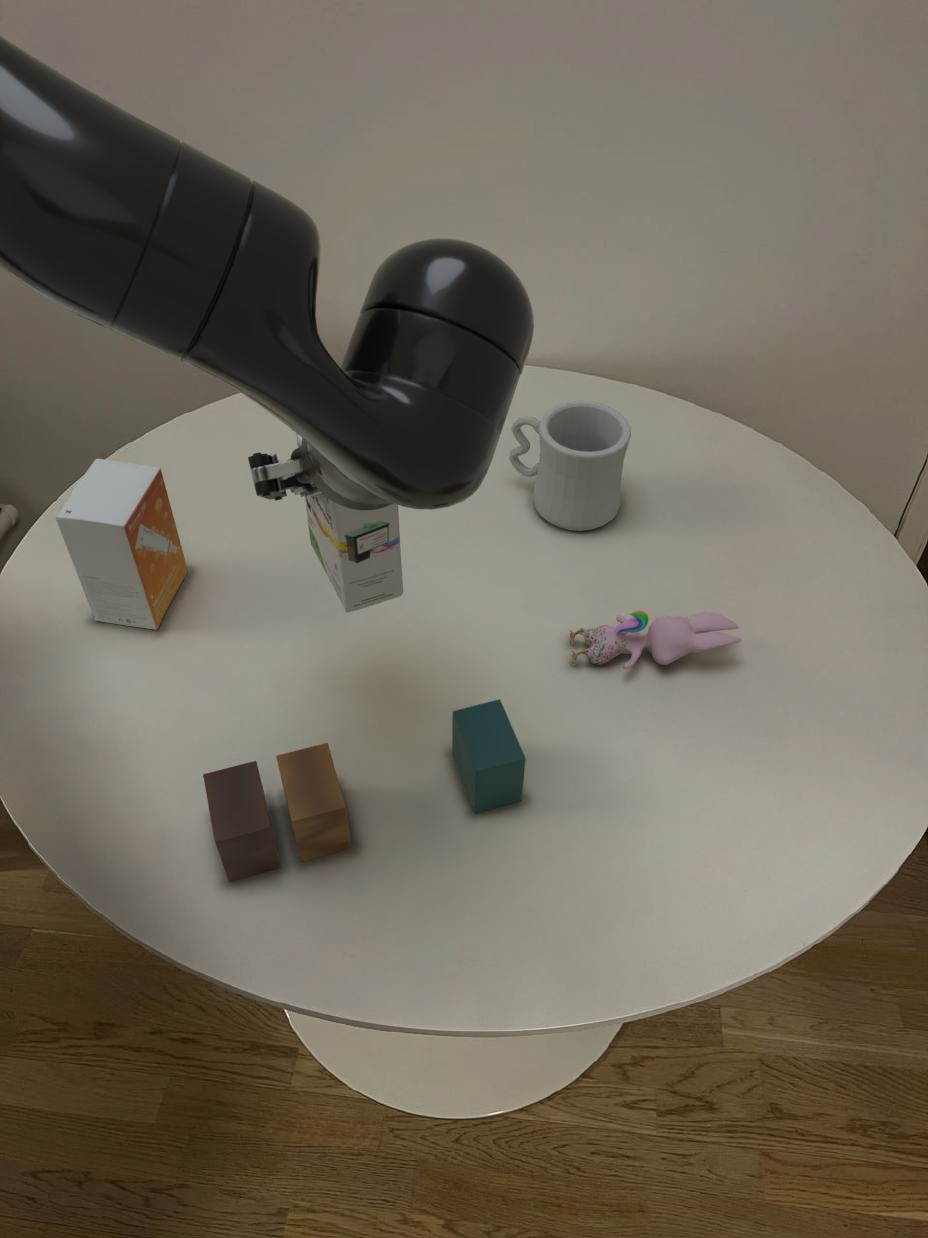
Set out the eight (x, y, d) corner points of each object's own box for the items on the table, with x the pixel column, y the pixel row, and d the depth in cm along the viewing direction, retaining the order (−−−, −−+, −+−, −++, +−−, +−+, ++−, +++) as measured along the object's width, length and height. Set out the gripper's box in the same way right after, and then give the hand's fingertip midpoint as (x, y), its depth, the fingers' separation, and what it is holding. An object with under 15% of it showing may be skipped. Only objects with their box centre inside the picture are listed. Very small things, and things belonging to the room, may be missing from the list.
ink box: (308, 543, 80) (291, 423, 72) (366, 526, 82) (356, 406, 73) (344, 615, 75) (330, 495, 66) (406, 596, 76) (400, 475, 68)
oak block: (300, 862, 77) (291, 821, 72) (285, 798, 81) (275, 755, 76) (351, 848, 78) (345, 807, 73) (334, 785, 81) (327, 742, 77)
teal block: (474, 814, 80) (476, 772, 75) (451, 754, 84) (452, 710, 79) (521, 801, 81) (526, 758, 76) (497, 742, 84) (500, 698, 80)
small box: (158, 632, 92) (124, 527, 83) (93, 622, 93) (51, 517, 83) (190, 570, 98) (161, 465, 88) (129, 561, 98) (93, 456, 89)
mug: (632, 492, 106) (646, 415, 98) (599, 545, 100) (611, 467, 93) (526, 457, 110) (531, 380, 102) (489, 506, 104) (491, 428, 97)
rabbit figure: (575, 690, 90) (745, 672, 88) (570, 647, 85) (749, 628, 84) (569, 637, 94) (732, 619, 92) (564, 594, 90) (735, 574, 88)
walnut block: (228, 882, 76) (214, 842, 71) (216, 816, 79) (202, 773, 75) (281, 867, 76) (270, 827, 72) (266, 802, 80) (256, 760, 76)
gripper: (478, 351, 58) (423, 405, 75) (231, 395, 55) (231, 441, 72) (506, 478, 59) (445, 504, 75) (263, 529, 56) (255, 544, 72)
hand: (341, 473), depth 73 cm, fingers closed on ink box, 5 cm apart
